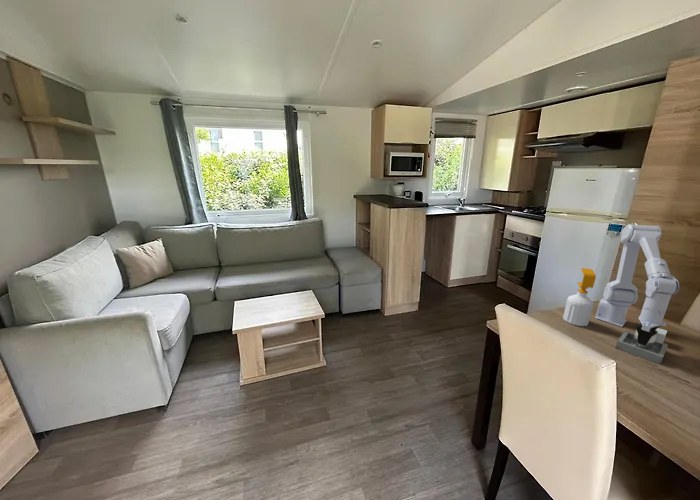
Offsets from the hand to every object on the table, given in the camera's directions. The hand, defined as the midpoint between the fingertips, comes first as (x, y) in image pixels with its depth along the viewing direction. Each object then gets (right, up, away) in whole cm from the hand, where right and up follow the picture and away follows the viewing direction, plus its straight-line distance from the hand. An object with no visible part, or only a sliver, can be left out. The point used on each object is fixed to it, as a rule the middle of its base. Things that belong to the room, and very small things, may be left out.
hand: (643, 341), depth 108 cm
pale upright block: (+10, -2, +7) cm, 13 cm away
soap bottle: (-9, +2, +21) cm, 23 cm away
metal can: (0, -1, 0) cm, 1 cm away
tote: (0, -4, +1) cm, 4 cm away
